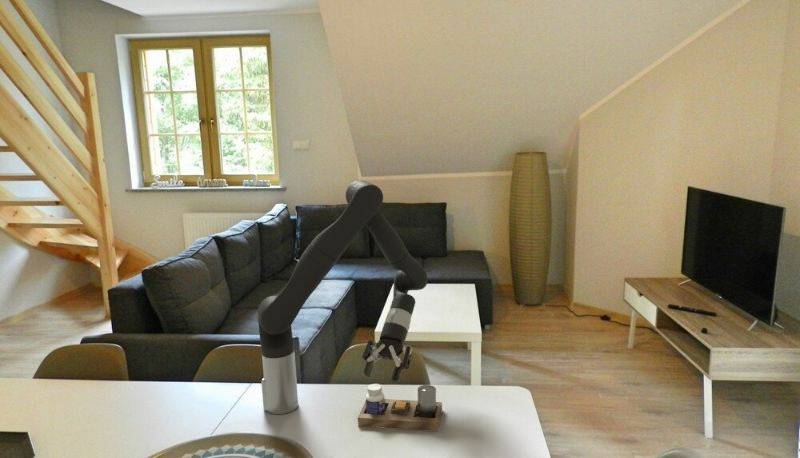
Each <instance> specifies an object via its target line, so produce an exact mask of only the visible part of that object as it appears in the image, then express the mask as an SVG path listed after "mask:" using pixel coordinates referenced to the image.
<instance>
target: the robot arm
mask: <svg viewBox="0 0 800 458" xmlns="http://www.w3.org/2000/svg"><path fill="white" fill-rule="evenodd" d="M345 199H346V203H347V206H346V207H345V209H344V210H343V212H342V214H341V215H340V216H339V217H338V218H337V219H336V220H335V221H334V222H333V223H332V224H330V225H329V226H328V227H326V228H325V229H323V230H322V231H321V232H320V233H319V234H317V235H316V236H315V237H314V238H313V240H311V242H310V243H309V244H308V245H307V247H306V249H304V251H303V253H302V254H301V256H300V257H299V259H298V260H297V263H296V265H295V267H294V269H293V271H292V274H291V277H290V278H289V280H288V282H287V283H286V285H284V286H285V287H283V289H282V290H281V292H279V294H278V295H270V296H267V297H266V298H264V299H263V300H262V301H261V302H260V304H259V306H258V309H257V321H258V330H259V331H258V332H259V341H260V349H261V359H262V370H263V371H262V372H263V378H262V379H261V382H260V383H261V394H262V404H263V411H266V412H268V413H269V414H274V415H285V414H288V413H291V412H293V411H294V410H296V409H297V408H298V406H299V396H298V385H297V384H298V383H297V370H296V369H297V368H296V357H295V355H296V354H295V343H294V338H293V337H294V336H293V332H292V331H293V330H292V325H293V323H294V321H295V320H296V318H297V317H298V315H299V313H300V311H301V310H302V308H303V306H304V305H305V303H306V302H307V300H308V299H309V297H311V295H312V294H313V292H314V291H315V290H316V289H317V288H318V287H319V285H320V284H321V283H322V281H323V280H324V279H325V277H327V275H328V274H329V272H331V270H332V269H333V267H334V266H335V265H336V263H337V262H338V260H340V258H341V256H342V255H343V253H344V252H346V250H347V249H348V247H349V246H350V245H351V244H352V242H353V240H354V239H355V237H357V234H359V232H360V231H361V230H362V229H363V228H364V227H366V228H367V230H369V232H370V234H371V235H372V237H373V239H374V241H375V242H376V244H377V246H378V247H379V249H380V252H381V253H382V255H383V256H384V258H385V260H386V261H387V262H388V265H389V266H390V268H392V269H394V270H397V272H396V274H395V275H394V279H393V294H392V295H393V296H392V301H391V304H390V307H389V310H388V312H387V314H386V317H385V320H384V323H383V327H382V328H381V329H382V330H381V332H380V335H379V340H378V341H377V342H374V341H373V340H372V339H369V340H368V341H367V344H366V346H365V349H364V351H363V353H362V357H361V358H362V359H363V360H364V361H365V362H366V363H365V367H364V370H363V373H364V375H365V377H367V378H369V377H370V378H371V374H372V372H373V371H372V370H373V368H374V364H375V363H377V362H378V361H380V360H381V359H382V360H389V361H394V363H395V367H394V370H393V373H392V375H391V381H392V382H393V383H396V382H397V381H399V379H400V377H401V373H402V371H403V370H405V369H406V370H408V369H410V365H411V360H412V356H413V349H412V348H411V347H410V346H408V345H407V346H406V347H405V346H404V345H405V342H406V338H407V336H408V332H409V330H410V326H411V321H412V316H413V312H414V310H415V306H416V298H415V297H414V296H413V295H411V294H409V293H408V292H409V291H420V290H423V289H425V288H426V286H427V285H428V273H427V272H426V270H425V268H424V267H423V266H422V265H421V264H420V263H419V262H418V261H417V260H416V259H415V258H414V257H413V256H412V255H411V254H410V252H409V251H408V248H407V246H406V245H405V243H404V241H403V240H402V238H401V237H400V235H399V234H398V233H397V231H396V230H395V229H394V228H393V226H392V225H391V224H390V222H389V221H388V219H386V217H385V216H384V214H383V212H382V211H381V208H382V205H383V202H384V193H383V191H382V189H381V188H380V187H379V186H377V184H376V185H375V184H373V183H371V182H368V181H366V180H355V181H353V182H351V183H350V184H349V185H348V186H347V189H346V191H345ZM373 350H374V351H373ZM402 353H403V354H404V356H403V359H402V360H403V361H401V358H400V355H402Z"/></svg>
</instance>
